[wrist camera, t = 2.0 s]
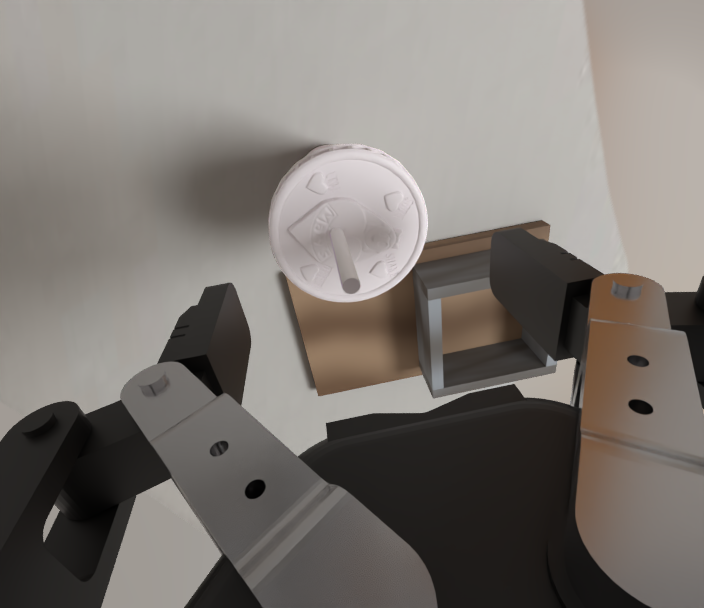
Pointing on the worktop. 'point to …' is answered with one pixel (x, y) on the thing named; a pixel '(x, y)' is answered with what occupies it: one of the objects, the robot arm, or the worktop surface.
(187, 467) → the robot arm
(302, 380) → the worktop surface
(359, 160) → the smoothie
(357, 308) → the caddy
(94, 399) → the worktop surface
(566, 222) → the worktop surface
